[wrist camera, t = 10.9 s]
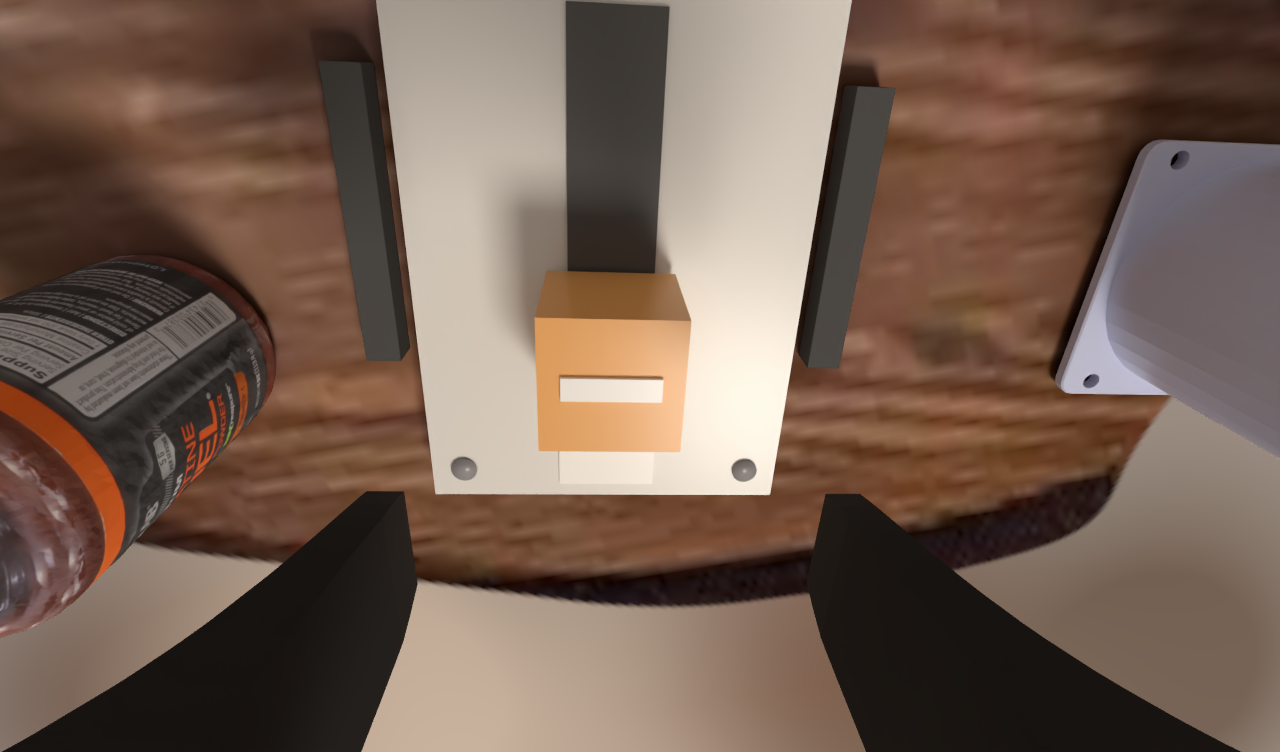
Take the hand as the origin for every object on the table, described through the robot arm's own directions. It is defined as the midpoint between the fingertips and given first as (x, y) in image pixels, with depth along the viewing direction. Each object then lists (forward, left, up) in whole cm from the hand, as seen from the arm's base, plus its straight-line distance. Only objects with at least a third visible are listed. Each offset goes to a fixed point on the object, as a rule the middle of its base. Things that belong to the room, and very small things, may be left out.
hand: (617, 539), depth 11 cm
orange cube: (0, 0, -8) cm, 8 cm away
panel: (0, -3, -10) cm, 10 cm away
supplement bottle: (+13, +1, -10) cm, 17 cm away
